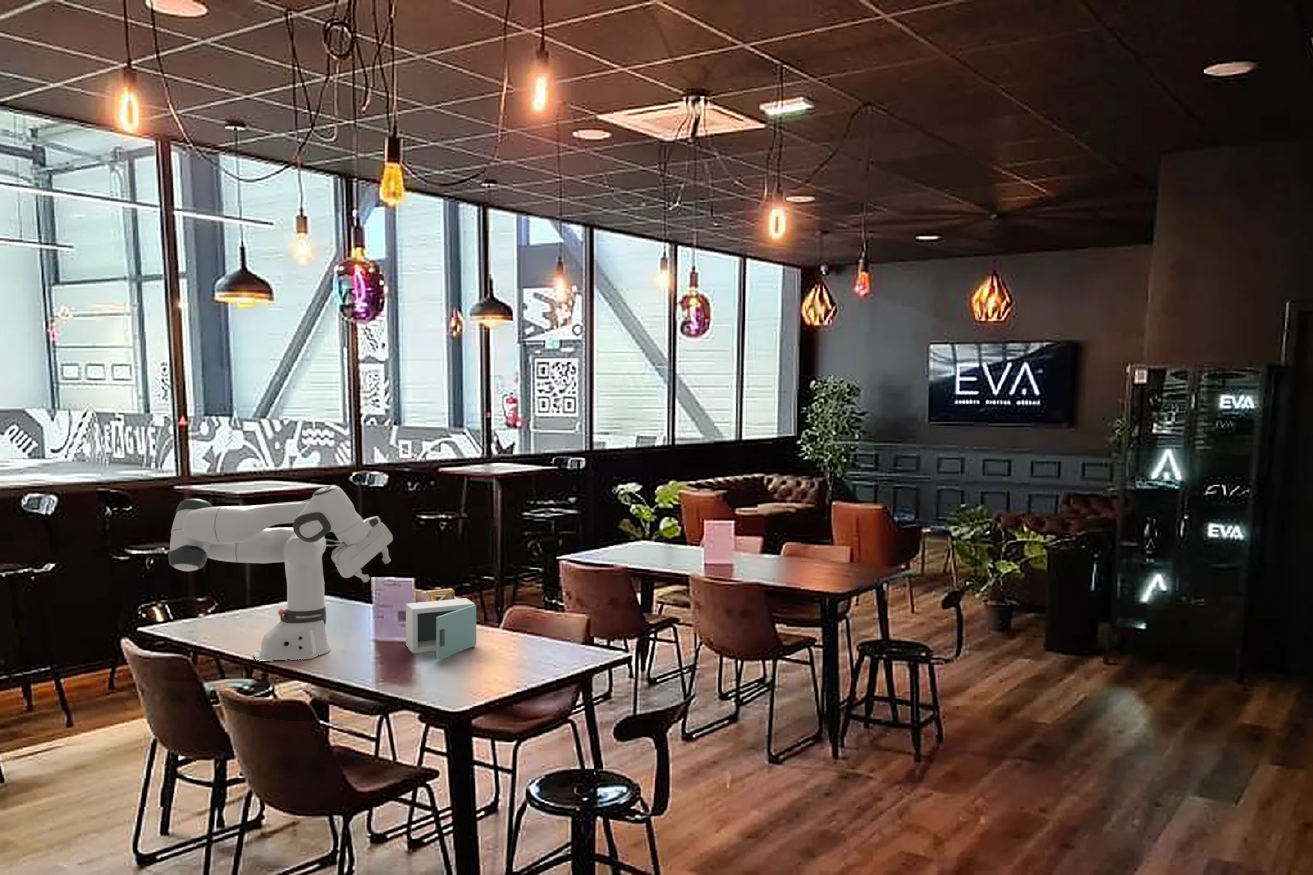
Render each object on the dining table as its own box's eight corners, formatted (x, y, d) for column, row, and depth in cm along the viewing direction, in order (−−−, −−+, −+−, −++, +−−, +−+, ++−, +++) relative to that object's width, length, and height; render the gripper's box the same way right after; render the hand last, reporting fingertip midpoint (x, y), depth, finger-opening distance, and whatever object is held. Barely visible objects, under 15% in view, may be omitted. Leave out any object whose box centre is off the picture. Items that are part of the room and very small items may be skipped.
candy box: (451, 631, 324) (450, 587, 324) (455, 634, 321) (454, 590, 320) (426, 634, 320) (425, 590, 319) (429, 637, 316) (429, 592, 316)
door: (441, 660, 284) (441, 617, 284) (436, 659, 285) (436, 617, 285) (478, 645, 303) (478, 605, 303) (473, 644, 304) (473, 604, 303)
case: (412, 653, 295) (412, 609, 295) (406, 646, 304) (405, 603, 304) (474, 646, 304) (474, 603, 304) (466, 639, 313) (466, 598, 313)
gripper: (335, 552, 266) (360, 591, 270) (382, 513, 282) (405, 550, 286) (322, 555, 270) (347, 593, 274) (369, 516, 286) (392, 553, 290)
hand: (377, 571), depth 280 cm, fingers open, 8 cm apart
